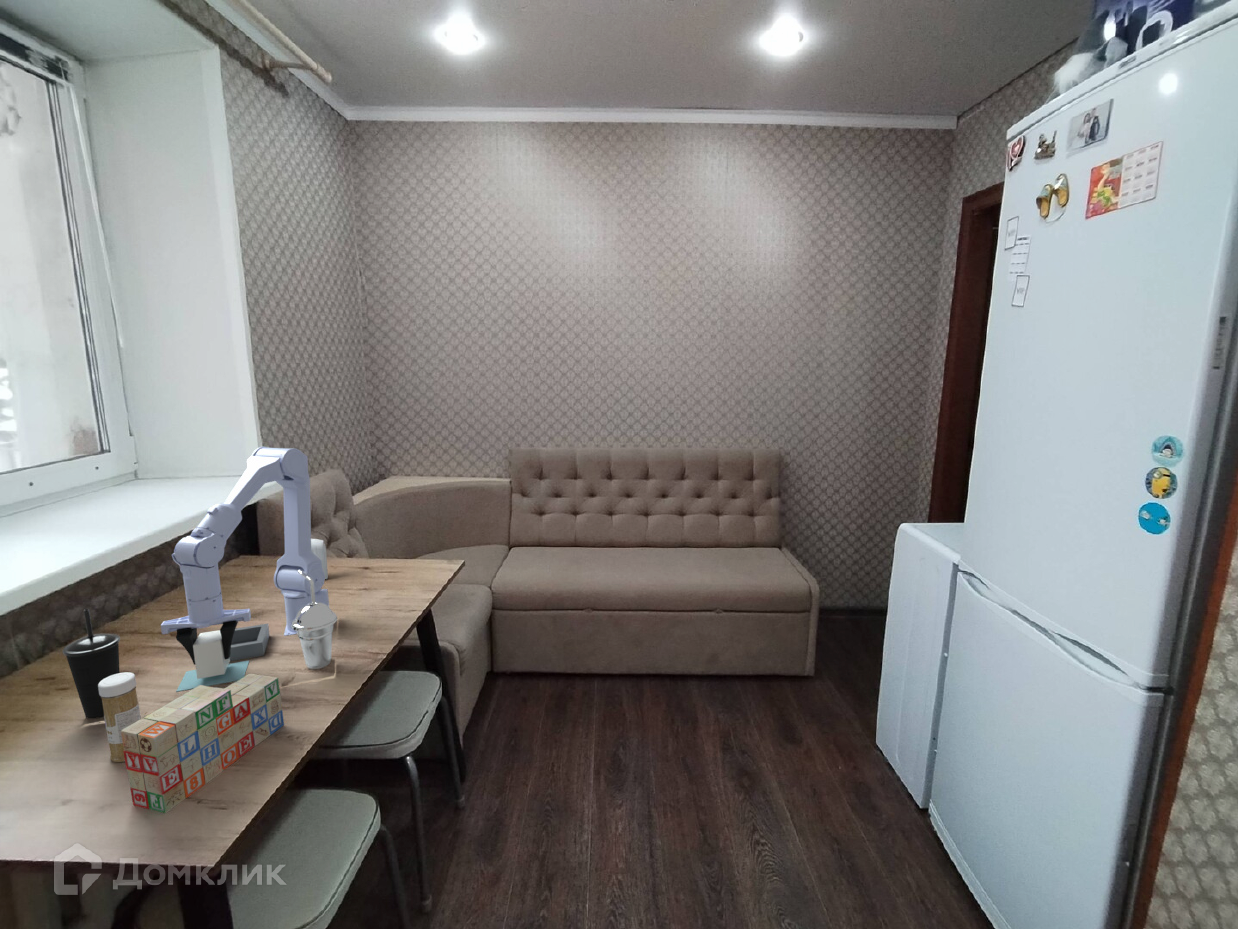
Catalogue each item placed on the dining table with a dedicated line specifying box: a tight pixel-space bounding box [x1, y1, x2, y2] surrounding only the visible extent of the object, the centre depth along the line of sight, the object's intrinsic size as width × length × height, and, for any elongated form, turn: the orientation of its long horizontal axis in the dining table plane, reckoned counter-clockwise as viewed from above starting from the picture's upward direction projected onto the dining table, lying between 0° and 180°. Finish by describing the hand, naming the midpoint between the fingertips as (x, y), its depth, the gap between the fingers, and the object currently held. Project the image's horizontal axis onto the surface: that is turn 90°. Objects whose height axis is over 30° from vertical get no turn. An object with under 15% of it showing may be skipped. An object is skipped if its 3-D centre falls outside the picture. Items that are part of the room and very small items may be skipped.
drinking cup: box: [62, 608, 121, 719], centre depth 106 cm, size 8×8×20 cm
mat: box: [175, 660, 250, 693], centre depth 119 cm, size 11×8×1 cm
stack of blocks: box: [121, 673, 285, 814], centre depth 94 cm, size 21×6×12 cm, turn 165°
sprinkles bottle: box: [98, 671, 142, 763], centre depth 95 cm, size 5×5×14 cm
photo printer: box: [311, 538, 329, 580], centre depth 171 cm, size 10×4×12 cm, turn 110°
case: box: [230, 623, 270, 662], centre depth 129 cm, size 12×10×4 cm
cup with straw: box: [292, 570, 338, 670], centre depth 123 cm, size 8×9×20 cm
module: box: [193, 629, 231, 679], centre depth 119 cm, size 4×6×7 cm
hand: (212, 659), depth 119 cm, fingers open, 5 cm apart
